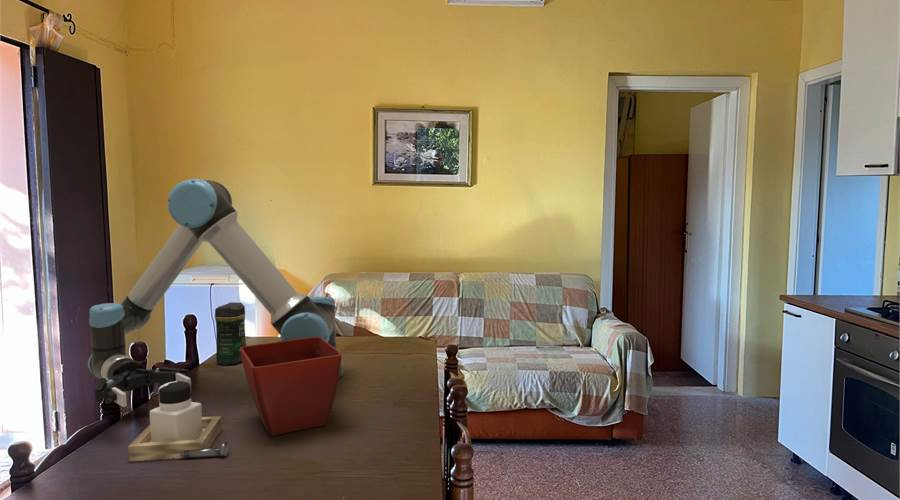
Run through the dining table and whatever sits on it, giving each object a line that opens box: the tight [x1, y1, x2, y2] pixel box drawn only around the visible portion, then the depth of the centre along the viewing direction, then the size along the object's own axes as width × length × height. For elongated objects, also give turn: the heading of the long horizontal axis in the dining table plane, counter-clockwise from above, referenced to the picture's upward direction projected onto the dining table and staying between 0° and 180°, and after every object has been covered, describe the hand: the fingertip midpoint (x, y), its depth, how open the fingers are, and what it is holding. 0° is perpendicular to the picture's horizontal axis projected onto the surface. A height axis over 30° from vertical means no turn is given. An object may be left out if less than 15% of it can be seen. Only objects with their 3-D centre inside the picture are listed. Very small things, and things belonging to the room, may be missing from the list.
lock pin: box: [180, 441, 229, 459], centre depth 116 cm, size 9×3×3 cm, turn 97°
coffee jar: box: [214, 301, 247, 366], centre depth 183 cm, size 10×8×19 cm
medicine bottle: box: [149, 381, 203, 442], centre depth 121 cm, size 7×7×12 cm
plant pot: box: [240, 337, 343, 437], centre depth 133 cm, size 19×19×17 cm
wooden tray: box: [127, 415, 223, 462], centre depth 122 cm, size 14×14×3 cm
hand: (158, 392), depth 127 cm, fingers open, 13 cm apart
